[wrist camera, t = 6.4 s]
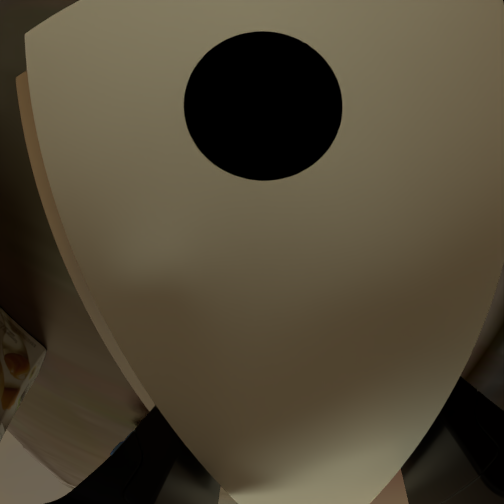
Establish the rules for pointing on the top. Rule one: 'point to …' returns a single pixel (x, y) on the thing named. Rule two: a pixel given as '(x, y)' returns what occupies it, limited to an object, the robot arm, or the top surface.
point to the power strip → (282, 218)
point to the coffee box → (16, 367)
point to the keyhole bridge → (63, 240)
